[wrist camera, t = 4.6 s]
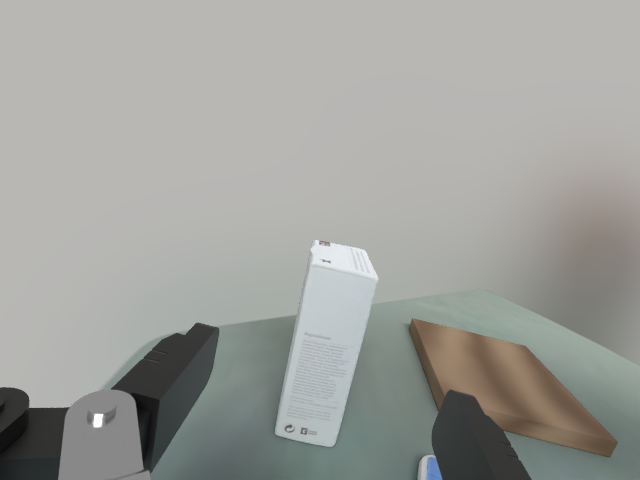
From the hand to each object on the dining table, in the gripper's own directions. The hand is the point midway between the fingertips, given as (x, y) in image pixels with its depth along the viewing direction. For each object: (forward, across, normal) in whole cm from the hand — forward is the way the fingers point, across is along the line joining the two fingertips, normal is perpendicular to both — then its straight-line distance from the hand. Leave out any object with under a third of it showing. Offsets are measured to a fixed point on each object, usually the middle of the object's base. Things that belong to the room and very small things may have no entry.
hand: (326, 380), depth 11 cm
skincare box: (+11, 0, +11) cm, 15 cm away
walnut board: (+21, -18, +10) cm, 30 cm away
